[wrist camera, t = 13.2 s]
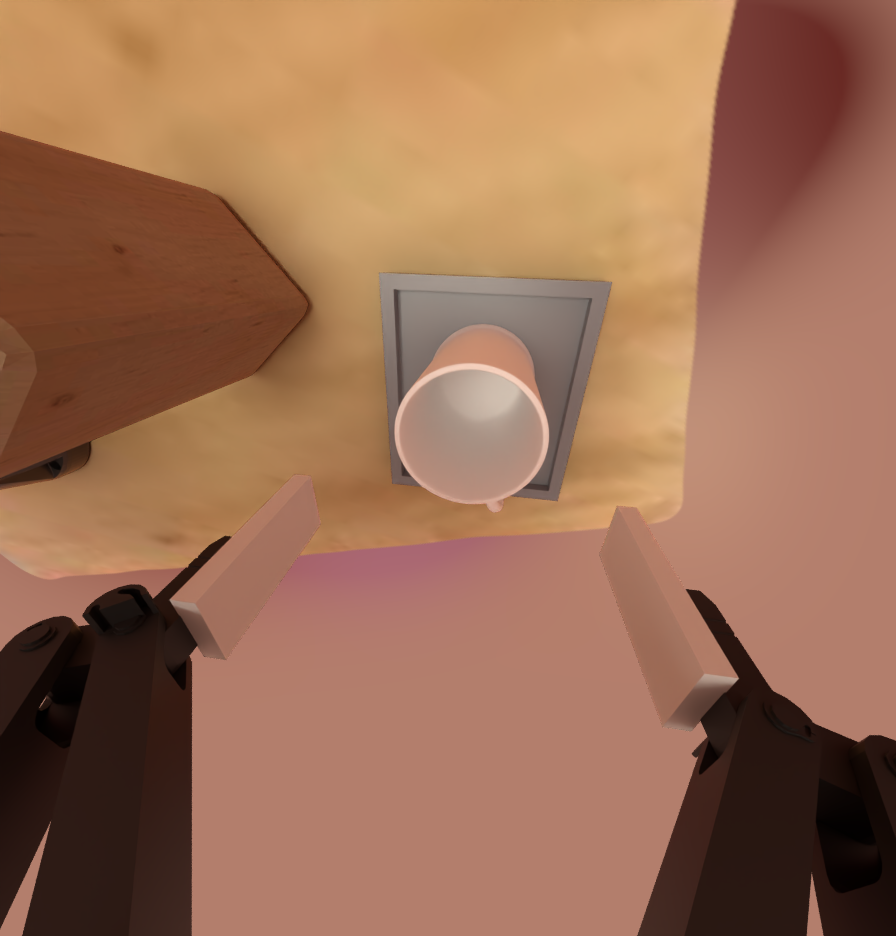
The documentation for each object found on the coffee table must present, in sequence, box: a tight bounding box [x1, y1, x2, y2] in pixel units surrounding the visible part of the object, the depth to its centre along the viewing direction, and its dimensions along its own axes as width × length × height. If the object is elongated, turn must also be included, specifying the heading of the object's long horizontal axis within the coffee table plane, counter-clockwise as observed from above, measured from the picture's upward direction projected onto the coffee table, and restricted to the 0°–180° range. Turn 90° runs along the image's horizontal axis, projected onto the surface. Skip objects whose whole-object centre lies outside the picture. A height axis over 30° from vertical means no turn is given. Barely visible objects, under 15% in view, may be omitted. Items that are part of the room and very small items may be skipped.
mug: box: [394, 324, 549, 512], centre depth 23 cm, size 12×8×12 cm
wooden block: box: [0, 131, 308, 478], centre depth 19 cm, size 10×10×20 cm
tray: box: [379, 273, 612, 501], centre depth 28 cm, size 16×18×2 cm
